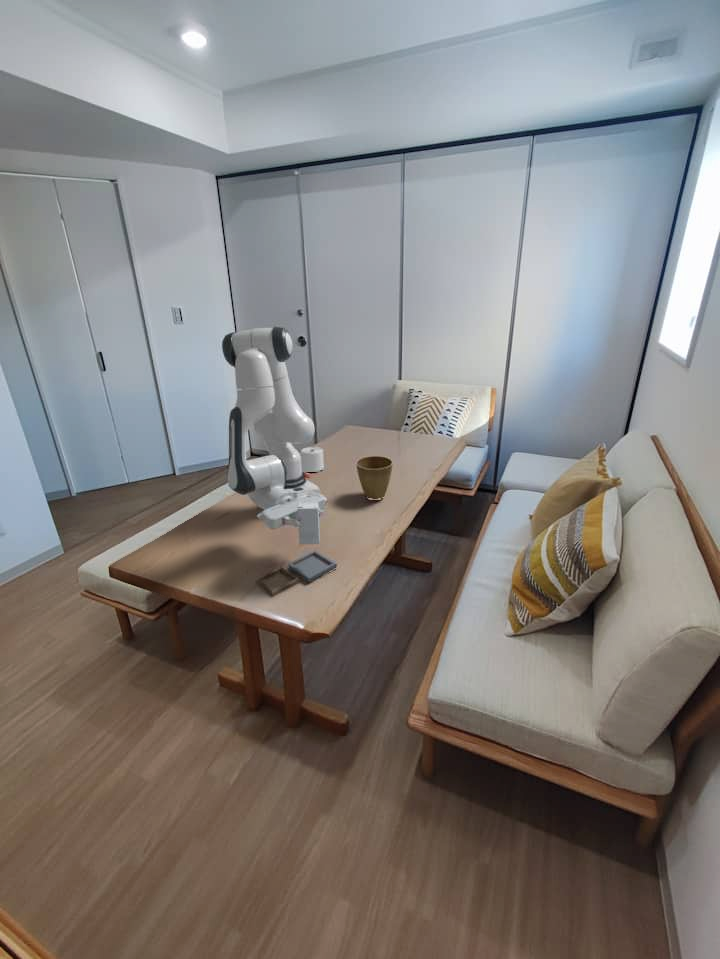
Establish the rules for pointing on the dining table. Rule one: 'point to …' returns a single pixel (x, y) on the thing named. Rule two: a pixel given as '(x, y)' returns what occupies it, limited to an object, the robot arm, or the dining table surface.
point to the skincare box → (308, 523)
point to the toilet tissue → (312, 459)
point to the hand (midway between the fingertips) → (310, 519)
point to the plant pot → (374, 475)
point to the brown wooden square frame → (280, 589)
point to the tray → (311, 566)
